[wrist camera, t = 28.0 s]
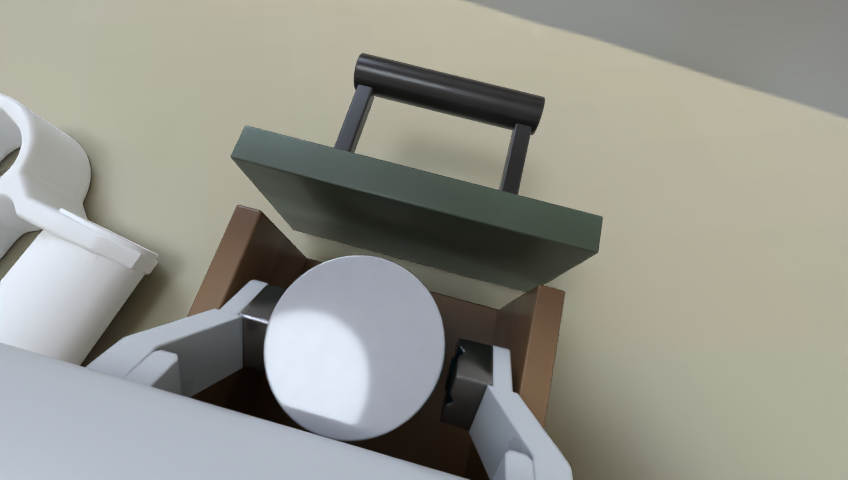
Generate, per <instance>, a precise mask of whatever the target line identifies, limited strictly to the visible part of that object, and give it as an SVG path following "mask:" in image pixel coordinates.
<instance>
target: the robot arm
mask: <svg viewBox="0 0 848 480" xmlns="http://www.w3.org/2000/svg"><path fill="white" fill-rule="evenodd" d="M286 290H287V289H286V288H282V287H279V286H276V285H272V284H268V283H265V282H261V281H258V280H251V281H249V282H248V283H247V284H246V285H245V286H244V287H243V288H242V289H241V290H240V291H239V292H238V293H237V294H236V295H234V296H233V297H232V298H231V299H230V300H229V301H228V302H227V303H226V304H225V305H224V306H223V307H222V308H221V309H220V310H218V309H212V310H209V311H205V312H202V313H199V314H196V315H193V316H189V317H186V318H183V319H180V320H177V321H173V322H170V323H167V324H164V325H161V326H158V327H154V328H151V329H148V330H145V331H142V332H138V333H135V334H132V335H129V336H126V337H123V338H122V339H120V340H119V341H118V342H117V343H115V344H114V345H113V346H111V347H110V348H109V349H108V350H106V351H105V352H104V353H102V354H101V355H100V356H99V357H97V358H96V359H95V360H94V361H92V362H91V363H90V364H88V365H87V366H86V367H82V366H79V365H76V364H72V363H69V362H65V361H62V360H58V359H55V358H52V357H48V356H45V355H41V354H38V353H34V352H31V351H28V350H24V349H21V348H17V347H14V346H10V345H7V344H4V343H0V480H469V479H466V478H463V477H459V476H456V475H452V474H449V473H445V472H442V471H439V470H435V469H432V468H428V467H425V466H422V465H418V464H415V463H411V462H408V461H405V460H401V459H398V458H394V457H391V456H387V455H384V454H381V453H377V452H374V451H370V450H367V449H364V448H360V447H357V446H353V445H350V444H346V443H343V442H340V441H336V440H333V439H329V438H326V437H322V436H319V435H316V434H312V433H309V432H305V431H302V430H298V429H295V428H292V427H288V426H285V425H281V424H278V423H274V422H271V421H267V420H264V419H261V418H257V417H254V416H250V415H247V414H243V413H240V412H237V411H233V410H230V409H226V408H223V407H219V406H216V405H213V404H209V403H206V402H202V401H199V400H196V399H192V398H190V397H191V396H193V395H195V394H197V393H199V392H200V391H202V390H204V389H206V388H208V387H209V386H211V385H213V384H215V383H216V382H218V381H220V380H222V379H224V378H225V377H227V376H229V375H231V374H232V373H234V372H236V371H238V370H240V369H241V368H243V366H245V367H249V368H253V369H257V370H260V371H264V372H265V367H264V355H263V353H264V340H265V334H266V329H267V326H268V323H269V320H270V317H271V315H272V313H273V310H274V308H275V306H276V305H277V303H278V301H279V300H280V298H281V296H282V295H283V294H284V293H285V291H286ZM444 390H445V391H446V393H445V396H444V399H443V403H442V410H441V418H440V422H443V423H446V424H450V425H453V426H456V427H459V428H462V429H465V430H469V434H470V436H471V438H472V441H473V443H474V445H475V447H476V450H477V452H478V454H479V456H480V459H481V461H482V463H483V465H484V468H485V470H486V472H487V474H488V477H489V479H490V480H573V475H572V470H571V466H570V464H569V463H568V461H567V460H566V459H565V457H564V456H563V455H562V453H561V452H560V450H559V449H558V448H557V446H556V445H555V444H554V442H553V441H552V440H551V438H550V437H549V435H548V434H547V433H546V431H545V430H544V429H543V427H542V426H541V424H540V423H539V422H538V420H537V419H536V418H535V416H534V415H533V414H532V412H531V411H530V409H529V408H528V407H527V405H526V404H525V403H524V401H523V400H522V399H521V397H520V396H519V394H518V393H515V392H513V387H512V370H511V353H510V350H509V349H506V348H502V347H498V346H494V345H488V344H485V343H481V342H477V341H474V340H470V339H466V338H462V337H459V338H458V341H457V344H456V347H455V354H454V357H453V358H452V359H451V362H450V366H449V369H448V373H447V377H446V383H445V389H444Z"/></svg>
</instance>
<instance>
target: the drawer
mask: <svg viewBox="0 0 848 480" xmlns="http://www.w3.org/2000/svg"><path fill="white" fill-rule="evenodd" d="M354 87H355V90H356V92H355V94H354V97H353V100H352V102H351V105H350V107H349V110H348V113H347V115H346V118H345V120H344V123H343V126H342V128H341V131H340V133H339V136H338V139H337V141H336V144H335V146H334V148H332V147H328V146H324V145H320V144H316V143H312V142H309V141H305V140H301V139H297V138H293V137H289V136H285V135H281V134H277V133H273V132H269V131H265V130H262V129H258V128H254V127H250V126H245V127H244V129H243V131H242V133H241V136H240V138H239V140H238V142H237V144H236V146H235V148H234V150H233V153H232V155H231V158H232V159H233V161H234V162H235V163H236V164H237V165H238V166H239V168H240V169H241V170H242V171H243V172H244V173H245V175H246V176H247V177H248V178H249V179H250V180H251V181H252V183H253V184H254V185H255V186H256V187H257V188H258V190H259V191H260V192H261V193H262V194H263V195H264V197H265V198H266V199H267V200H268V201H269V202H270V203H271V205H272V206H273V207H274V208H275V209H276V210H277V212H278V213H279V214H280V215H281V216H282V217H283V219H284V220H285V221H286V222H287V223H288V224H289V225H290V227H291V228H292V229H293V230H296V231H300V232H303V233H307V234H311V235H315V236H318V237H322V238H326V239H330V240H333V241H337V242H341V243H345V244H348V245H352V246H356V247H360V248H363V249H367V250H371V251H375V252H378V253H382V254H386V255H389V256H393V257H397V258H401V259H404V260H408V261H412V262H416V263H419V264H423V265H427V266H431V267H434V268H438V269H442V270H446V271H449V272H453V273H457V274H461V275H464V276H468V277H472V278H476V279H479V280H483V281H487V282H491V283H494V284H498V285H502V286H506V287H509V288H513V289H517V290H521V291H524V292H526V293H525V294H523V295H521V296H520V297H518V298H517V299H515V300H513V301H512V302H510V303H509V304H507V305H505V306H504V307H502V308H501V309H499V310H497V309H494V308H490V307H486V306H482V305H479V304H475V303H471V302H468V301H464V300H460V299H456V298H453V297H449V296H445V295H442V294H438V293H434V292H431V291H429V292H430V294H431V295H432V297H433V299H434V301H435V303H436V305H437V307H438V309H439V312H440V315H441V318H442V322H443V326H444V331H445V340H446V351H445V360H444V366H443V370H442V373H441V376H440V379H439V381H438V384H437V386H436V388H435V390H434V392H433V393H432V395H431V397H430V398H429V400H428V401H427V402H426V404H425V405H424V406H423V407H422V408H421V410H420V411H418V412H417V413H416V414H415V415H414V416H413V417H412V418H411V419H410V420H408V421H407V422H405V423H404V424H403V425H401V426H400V427H398V428H397V429H395V430H393V431H391V432H389V433H387V434H384V435H382V436H379V437H376V438H373V439H368V440H364V441H352V442H348V441H340V442H343V443H346V444H350V445H353V446H357V447H360V448H364V449H367V450H370V451H374V452H377V453H381V454H384V455H387V456H391V457H394V458H398V459H401V460H405V461H408V462H411V463H415V464H418V465H422V466H425V467H428V468H432V469H435V470H439V471H442V472H445V473H449V474H452V475H456V476H459V477H463V478H466V479H469V480H490V479H489V477H488V474H487V472H486V470H485V468H484V465H483V463H482V461H481V459H480V456H479V454H478V452H477V450H476V447H475V445H474V443H473V441H472V438H471V436H470V434H469V430H465V429H462V428H459V427H456V426H453V425H450V424H446V423H443V422H440V418H441V410H442V403H443V399H444V396H445V393H446V391H445V390H444V389H445V383H446V377H447V373H448V369H449V366H450V362H451V359H452V358H453V357H454V354H455V347H456V344H457V341H458V338H459V337H462V338H466V339H470V340H474V341H477V342H481V343H485V344H488V345H494V346H498V347H502V348H506V349H509V350H510V353H511V370H512V387H513V392H515V393H518V394H519V396H520V397H521V399H522V400H523V401H524V403H525V404H526V405H527V407H528V408H529V409H530V411H531V412H532V414H533V415H534V416H535V418H536V419H537V420H538V422H539V423H540V424H541V426H542V427H543V429H544V425H545V419H546V413H547V406H548V400H549V393H550V387H551V380H552V374H553V368H554V361H555V355H556V348H557V342H558V336H559V329H560V323H561V316H562V310H563V303H564V297H565V292H564V291H562V290H558V289H555V288H551V287H547V286H543V285H545V284H546V283H548V282H550V281H551V280H553V279H555V278H556V277H558V276H560V275H561V274H563V273H565V272H567V271H568V270H570V269H572V268H573V267H575V266H577V265H578V264H580V263H582V262H583V261H585V260H587V259H588V258H590V257H592V256H593V255H595V254H597V253H598V250H599V242H600V235H601V228H602V220H603V217H602V216H598V215H594V214H590V213H586V212H582V211H578V210H575V209H571V208H567V207H563V206H559V205H555V204H551V203H547V202H543V201H539V200H535V199H531V198H528V197H524V196H520V195H518V191H519V186H520V181H521V177H522V172H523V167H524V162H525V158H526V153H527V148H528V143H529V139H530V135H533V134H534V133H535V131H536V129H537V127H538V124H539V122H540V119H541V116H542V112H543V108H544V103H545V98H544V97H542V96H538V95H533V94H529V93H525V92H521V91H517V90H513V89H509V88H505V87H500V86H496V85H492V84H488V83H484V82H480V81H476V80H472V79H468V78H463V77H459V76H455V75H451V74H447V73H443V72H439V71H435V70H431V69H426V68H422V67H418V66H414V65H410V64H406V63H402V62H398V61H394V60H389V59H385V58H381V57H377V56H373V55H369V54H365V53H362V54H361V55H360V56H359V58H358V60H357V63H356V67H355V72H354ZM374 96H376V97H380V98H384V99H388V100H392V101H396V102H400V103H404V104H408V105H412V106H416V107H420V108H424V109H429V110H433V111H437V112H441V113H445V114H449V115H453V116H457V117H461V118H465V119H469V120H473V121H477V122H481V123H485V124H489V125H493V126H497V127H501V128H505V129H509V130H513V131H512V135H511V140H510V144H509V148H508V153H507V157H506V162H505V166H504V170H503V175H502V179H501V184H500V188H499V190H496V189H492V188H488V187H485V186H481V185H477V184H473V183H469V182H465V181H461V180H457V179H453V178H449V177H445V176H442V175H438V174H434V173H430V172H426V171H422V170H418V169H414V168H410V167H406V166H402V165H398V164H395V163H391V162H387V161H383V160H379V159H375V158H371V157H367V156H363V155H359V154H355V153H354V152H355V149H356V146H357V144H358V141H359V138H360V135H361V133H362V130H363V127H364V124H365V122H366V119H367V116H368V113H369V111H370V108H371V105H372V102H373V100H374ZM321 263H323V262H319V261H316V260H312V259H308V258H306V257H305V256H304V255H303V254H302V253H301V252H300V251H299V250H298V249H297V248H296V246H295V245H294V244H293V243H292V242H291V241H290V240H289V239H288V238H287V237H286V236H285V235H284V234H283V233H282V232H281V231H280V230H279V229H278V228H277V227H276V226H275V225H274V224H273V223H272V222H271V221H270V220H269V219H268V217H267V216H266V215H265V214H264V213H263V212H262V211H260V210H256V209H253V208H249V207H245V206H241V205H237V207H236V209H235V211H234V213H233V216H232V218H231V220H230V222H229V224H228V227H227V229H226V231H225V233H224V236H223V238H222V240H221V242H220V245H219V247H218V249H217V251H216V254H215V256H214V258H213V260H212V262H211V265H210V267H209V269H208V271H207V274H206V276H205V278H204V280H203V283H202V285H201V287H200V289H199V291H198V294H197V296H196V298H195V300H194V303H193V305H192V307H191V309H190V312H189V314H188V316H187V317H189V316H193V315H196V314H199V313H202V312H205V311H209V310H212V309H218V310H220V309H221V308H222V307H223V306H224V305H225V304H226V303H227V302H228V301H229V300H230V299H231V298H232V297H233V296H234V295H236V294H237V293H238V292H239V291H240V290H241V289H242V288H243V287H244V286H245V285H246V284H247V283H248V282H249V281H251V280H258V281H261V282H265V283H268V284H272V285H276V286H279V287H282V288H286V289H288V288H289V286H290V285H291V284H293V283H294V282H295V281H296V280H297V279H298V278H299V277H300V276H301V275H303V274H304V273H305V272H307V271H308V270H310V269H312V268H313V267H315V266H317V265H319V264H321ZM190 398H192V399H196V400H199V401H202V402H206V403H209V404H213V405H216V406H219V407H223V408H226V409H230V410H233V411H237V412H240V413H243V414H247V415H250V416H254V417H257V418H261V419H264V420H267V421H271V422H274V423H278V424H281V425H285V426H288V427H292V428H295V429H298V430H302V431H305V432H309V431H308V430H306V429H304V428H302V427H301V426H300V425H298V424H297V423H296V422H295V421H293V420H292V419H291V418H290V417H289V416H288V415H287V414H286V413H285V412H284V410H283V409H282V408H281V406H280V405H279V403H278V402H277V400H276V399H275V397H274V395H273V393H272V391H271V388H270V386H269V383H268V380H267V376H266V372H264V371H260V370H257V369H253V368H249V367H245V366H243V368H241V369H240V370H238V371H236V372H234V373H232V374H231V375H229V376H227V377H225V378H224V379H222V380H220V381H218V382H216V383H215V384H213V385H211V386H209V387H208V388H206V389H204V390H202V391H200V392H199V393H197V394H195V395H193V396H191V397H190ZM309 433H311V432H309ZM312 434H313V433H312Z"/></svg>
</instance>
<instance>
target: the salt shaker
mask: <svg viewBox="0 0 848 480" xmlns="http://www.w3.org/2000/svg"><path fill="white" fill-rule="evenodd" d="M445 351H446V340H445V331H444V326H443V322H442V318H441V315H440V312H439V309H438V307H437V305H436V303H435V301H434V299H433V297H432V295H431V294H430V292H429V291H428V289H427V288H426V287H425V286H424V285H423V283H422V282H421V281H420V280H419V279H418V278H417V277H416V276H414V275H413V274H412V273H411V272H410V271H408V270H407V269H405V268H404V267H402V266H400V265H398V264H396V263H394V262H392V261H389V260H386V259H383V258H379V257H374V256H367V255H350V256H344V257H338V258H335V259H331V260H328V261H326V262H323V263H321V264H319V265H317V266H315V267H313V268H312V269H310V270H308V271H307V272H305V273H304V274H303V275H301V276H300V277H299V278H298V279H297V280H296V281H295V282H294V283H293V284H291V285H290V286H289V288H288V289H287V290H286V291H285V293H284V294H283V295H282V296H281V298H280V300H279V301H278V303H277V305H276V306H275V308H274V310H273V313H272V315H271V317H270V320H269V323H268V326H267V329H266V334H265V340H264V353H263V355H264V367H265V372H266V376H267V380H268V383H269V386H270V388H271V391H272V393H273V395H274V397H275V399H276V400H277V402H278V403H279V405H280V406H281V408H282V409H283V410H284V412H285V413H286V414H287V415H288V416H289V417H290V418H291V419H292V420H293V421H295V422H296V423H297V424H298V425H300V426H301V427H302V428H304V429H306V430H308V431H309V432H311V433H313V434H316V435H319V436H322V437H326V438H329V439H333V440H336V441H348V442H352V441H364V440H368V439H373V438H376V437H379V436H382V435H384V434H387V433H389V432H391V431H393V430H395V429H397V428H398V427H400V426H401V425H403V424H404V423H405V422H407V421H408V420H410V419H411V418H412V417H413V416H414V415H415V414H416V413H417V412H418V411H420V410H421V408H422V407H423V406H424V405H425V404H426V402H427V401H428V400H429V398H430V397H431V395H432V393H433V392H434V390H435V388H436V386H437V384H438V381H439V379H440V376H441V373H442V370H443V366H444V360H445Z"/></svg>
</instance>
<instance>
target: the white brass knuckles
mask: <svg viewBox="0 0 848 480" xmlns="http://www.w3.org/2000/svg"><path fill="white" fill-rule="evenodd" d="M19 147H21V149H20V152H19V155H18V157H17V159H16V160H15V162H14V163H13V165H12V166H11V167H10V168H9V170H8V171H7V172H6V173H5V174H3V175H2V176H1V177H0V259H1V258H2V257H3V256H4V254H5V253H6V252H7V251H8V250H9V248H10V247H11V246H12V245H13V244H14V242H15V241H16V240H17V239H18V238H19V237H20V236H21V235H23V234H25V233H27V232H30V231H37V230H42V229H43V230H42V231H41V233H40V234H39V235H38V236H37V238H36V239H35V240H34V241H33V242H32V244H31V245H30V246H29V247H28V248H27V250H26V251H25V252H24V253H23V255H22V256H21V257H20V258H19V259H18V261H17V262H16V263H15V264H14V265H13V267H12V268H11V269H10V270H9V272H8V273H7V274H6V275H5V276H4V278H3V279H2V280H1V281H0V343H4V344H7V345H10V346H14V347H17V348H21V349H24V350H28V351H31V352H34V353H38V354H41V355H45V356H48V357H52V358H55V359H58V360H62V361H65V362H69V363H72V364H76V365H79V366H80V365H81V363H82V362H83V361H84V359H85V358H86V356H87V355H88V354H89V352H90V351H91V349H92V348H93V347H94V345H95V344H96V342H97V341H98V340H99V338H100V337H101V335H102V334H103V332H104V331H105V330H106V328H107V327H108V325H109V324H110V323H111V321H112V320H113V318H114V317H115V316H116V314H117V313H118V311H119V310H120V309H121V307H122V306H123V304H124V303H125V302H126V300H127V299H128V297H129V296H130V294H131V293H132V292H133V290H134V289H135V287H136V286H137V285H138V283H139V282H140V280H141V279H142V278H143V276H144V275H147V274H150V273H151V272H152V270H153V269H154V267H155V266H156V265H157V263H158V261H157V260H156V258H157V256H158V255H157V254H156V253H154V252H152V251H150V250H148V249H146V248H144V247H142V246H140V245H138V244H136V243H134V242H132V241H130V240H128V239H126V238H124V237H122V236H120V235H118V234H116V233H114V232H112V231H110V230H108V229H106V228H104V227H102V226H100V225H97V224H95V223H93V222H91V221H89V220H88V219H87V216H86V213H85V210H84V208H83V201H84V199H85V197H86V194H87V192H88V189H89V185H90V179H91V168H90V163H89V160H88V157H87V155H86V153H85V151H84V150H83V148H82V147H81V146H80V145H79V144H78V143H77V142H76V141H75V140H74V139H73V138H71V137H70V136H68V135H67V134H66V133H64V132H63V131H61V130H60V129H58V128H57V127H55V126H54V125H52V124H51V123H49V122H48V121H46V120H45V119H43V118H42V117H40V116H39V115H37V114H36V113H34V112H33V111H31V110H30V109H28V108H27V107H25V106H24V105H22V104H21V103H19V102H18V101H16V100H14V99H12V98H10V97H8V96H5V95H3V94H0V162H1V161H2V160H3V159H4V158H5V157H6V156H7V155H8V154H9V153H11V152H12V151H14V150H15V149H17V148H19Z"/></svg>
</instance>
